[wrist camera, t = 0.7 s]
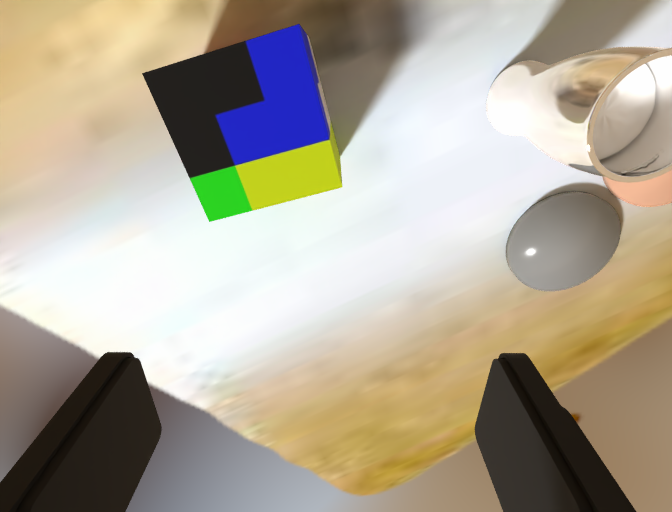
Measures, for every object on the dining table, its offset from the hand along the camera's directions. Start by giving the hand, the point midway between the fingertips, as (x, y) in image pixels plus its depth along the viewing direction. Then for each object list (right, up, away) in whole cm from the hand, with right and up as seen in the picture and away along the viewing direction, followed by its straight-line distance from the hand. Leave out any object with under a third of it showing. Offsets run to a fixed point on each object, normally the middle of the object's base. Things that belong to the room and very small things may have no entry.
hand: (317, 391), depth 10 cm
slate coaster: (+24, +5, +28) cm, 38 cm away
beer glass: (+17, +18, +22) cm, 33 cm away
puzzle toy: (-5, +16, +23) cm, 29 cm away
